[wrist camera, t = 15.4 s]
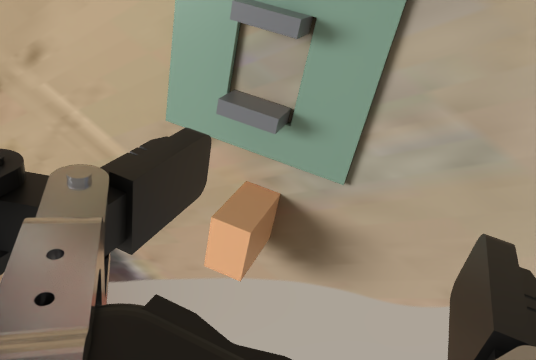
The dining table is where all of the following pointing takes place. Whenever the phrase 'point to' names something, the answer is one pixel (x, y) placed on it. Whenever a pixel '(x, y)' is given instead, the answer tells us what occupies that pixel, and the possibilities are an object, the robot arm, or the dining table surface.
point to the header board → (312, 85)
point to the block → (241, 230)
